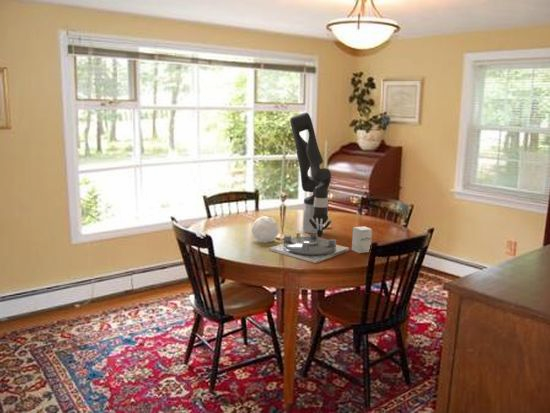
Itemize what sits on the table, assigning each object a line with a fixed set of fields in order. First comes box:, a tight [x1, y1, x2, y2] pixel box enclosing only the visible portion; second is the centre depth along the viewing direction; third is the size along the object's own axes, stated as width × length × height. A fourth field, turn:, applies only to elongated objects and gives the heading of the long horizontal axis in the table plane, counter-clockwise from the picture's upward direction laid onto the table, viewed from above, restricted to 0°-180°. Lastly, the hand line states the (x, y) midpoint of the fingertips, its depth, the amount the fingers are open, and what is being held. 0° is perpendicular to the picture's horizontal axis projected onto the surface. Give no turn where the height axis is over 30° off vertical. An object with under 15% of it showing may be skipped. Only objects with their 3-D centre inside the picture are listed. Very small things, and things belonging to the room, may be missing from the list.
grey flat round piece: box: [282, 232, 337, 255], centre depth 265 cm, size 28×28×5 cm
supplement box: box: [351, 225, 373, 254], centre depth 266 cm, size 7×7×13 cm
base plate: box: [268, 232, 350, 264], centre depth 265 cm, size 30×30×6 cm
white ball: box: [251, 215, 279, 244], centre depth 279 cm, size 14×15×15 cm
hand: (320, 236), depth 275 cm, fingers closed
